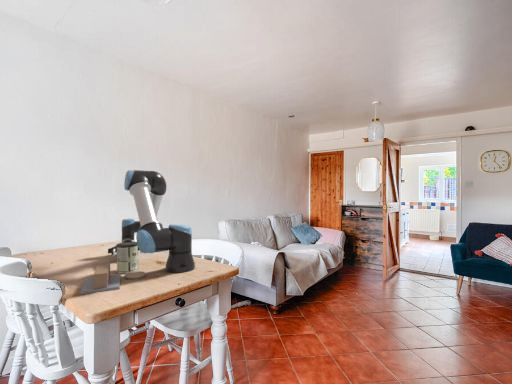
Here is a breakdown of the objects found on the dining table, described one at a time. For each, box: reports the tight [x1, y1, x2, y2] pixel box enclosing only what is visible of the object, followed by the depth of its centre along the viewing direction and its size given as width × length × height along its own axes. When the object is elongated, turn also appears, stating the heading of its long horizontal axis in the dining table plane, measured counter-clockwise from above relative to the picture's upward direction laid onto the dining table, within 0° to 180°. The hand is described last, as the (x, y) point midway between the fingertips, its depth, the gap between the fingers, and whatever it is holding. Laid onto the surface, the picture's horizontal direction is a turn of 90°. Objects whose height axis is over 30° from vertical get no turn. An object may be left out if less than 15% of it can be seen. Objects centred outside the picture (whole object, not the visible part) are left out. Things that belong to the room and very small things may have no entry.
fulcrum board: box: [79, 262, 122, 295], centre depth 119 cm, size 20×14×7 cm
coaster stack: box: [124, 270, 147, 281], centre depth 129 cm, size 9×9×2 cm
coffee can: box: [115, 241, 139, 274], centre depth 139 cm, size 10×10×14 cm
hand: (127, 252), depth 148 cm, fingers open, 13 cm apart
